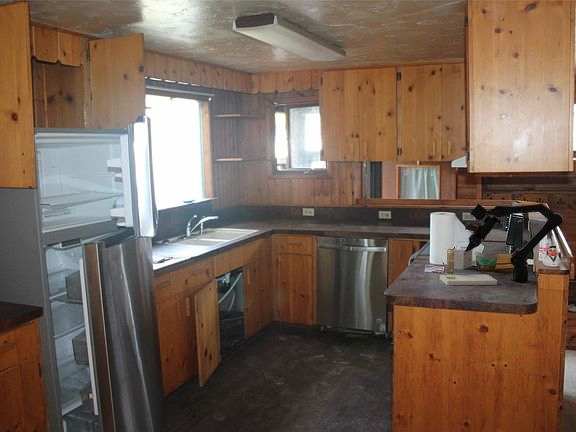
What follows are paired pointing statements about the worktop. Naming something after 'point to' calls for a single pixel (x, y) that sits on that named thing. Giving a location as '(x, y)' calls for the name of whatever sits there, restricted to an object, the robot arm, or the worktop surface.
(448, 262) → the peg
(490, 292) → the worktop surface
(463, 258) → the light bulb box
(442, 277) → the board
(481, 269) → the food container
